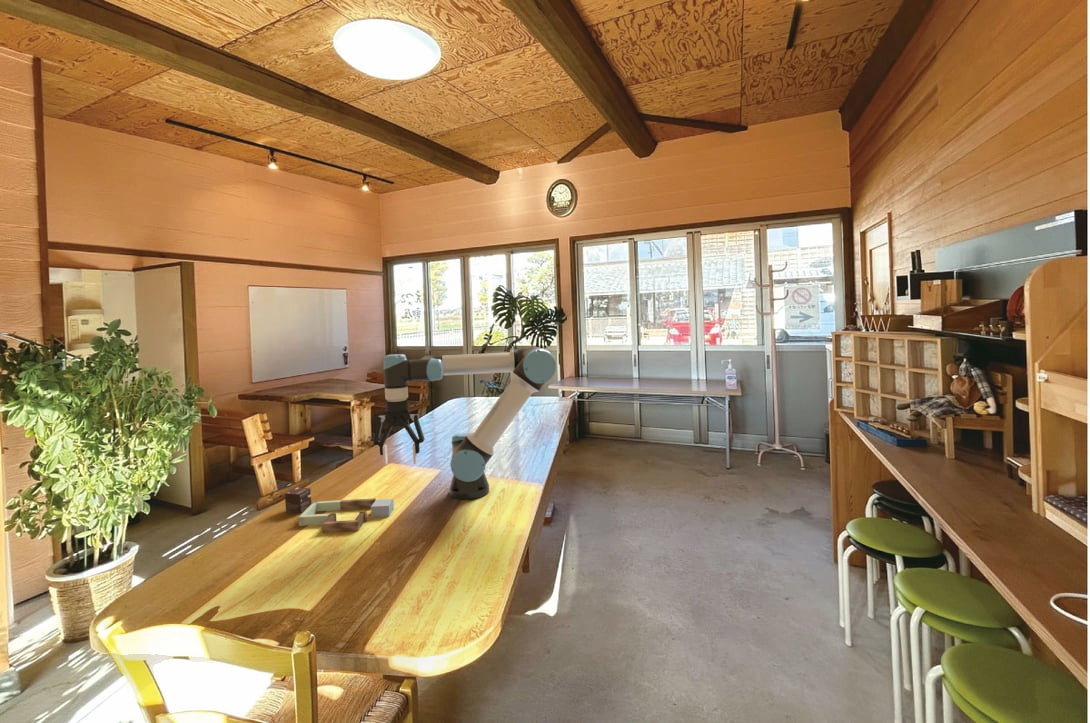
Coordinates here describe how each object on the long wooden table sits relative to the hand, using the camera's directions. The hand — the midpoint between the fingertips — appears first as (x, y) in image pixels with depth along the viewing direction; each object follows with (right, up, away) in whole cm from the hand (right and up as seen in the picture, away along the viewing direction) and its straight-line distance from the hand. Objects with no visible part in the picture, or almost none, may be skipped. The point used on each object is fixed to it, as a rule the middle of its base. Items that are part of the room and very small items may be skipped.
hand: (400, 463), depth 162 cm
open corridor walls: (-16, -18, -3) cm, 25 cm away
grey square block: (-7, -18, +1) cm, 19 cm away
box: (-38, -18, +5) cm, 43 cm away
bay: (-26, -18, -1) cm, 32 cm away
